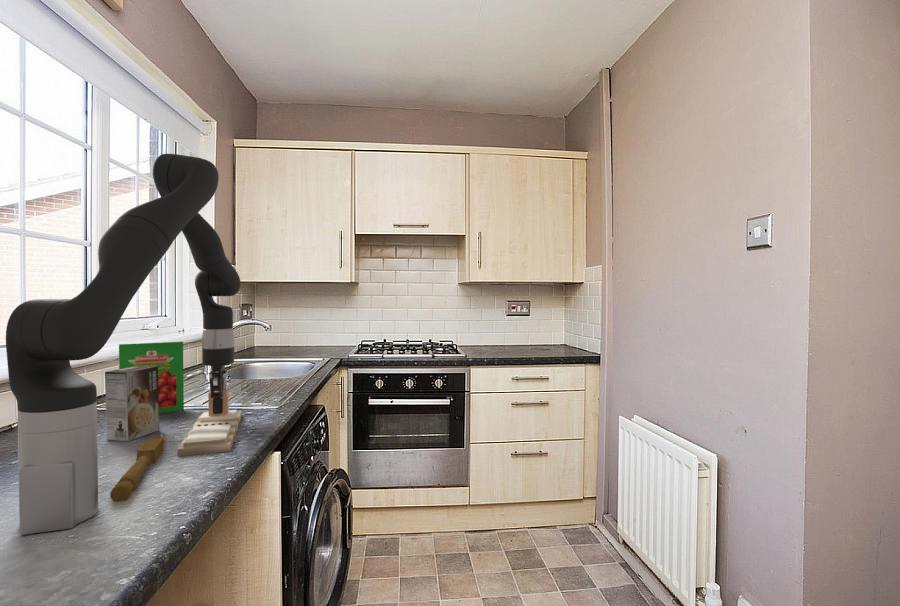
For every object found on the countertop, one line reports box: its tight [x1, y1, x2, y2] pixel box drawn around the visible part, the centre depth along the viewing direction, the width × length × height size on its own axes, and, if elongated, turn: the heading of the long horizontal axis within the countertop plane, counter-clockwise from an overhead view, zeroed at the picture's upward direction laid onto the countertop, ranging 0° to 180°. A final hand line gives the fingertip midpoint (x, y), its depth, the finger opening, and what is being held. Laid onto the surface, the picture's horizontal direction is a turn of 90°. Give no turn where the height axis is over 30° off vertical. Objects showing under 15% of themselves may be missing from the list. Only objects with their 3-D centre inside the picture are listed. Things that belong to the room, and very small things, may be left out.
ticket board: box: [177, 410, 243, 457], centre depth 115 cm, size 30×10×3 cm, turn 20°
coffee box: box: [104, 366, 161, 442], centre depth 113 cm, size 9×6×16 cm
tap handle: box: [109, 435, 166, 503], centre depth 91 cm, size 3×3×30 cm
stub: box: [200, 388, 238, 422], centre depth 123 cm, size 6×8×7 cm
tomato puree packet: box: [118, 341, 185, 414], centre depth 133 cm, size 15×1×20 cm, turn 120°
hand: (218, 411), depth 123 cm, fingers closed on stub, 3 cm apart
